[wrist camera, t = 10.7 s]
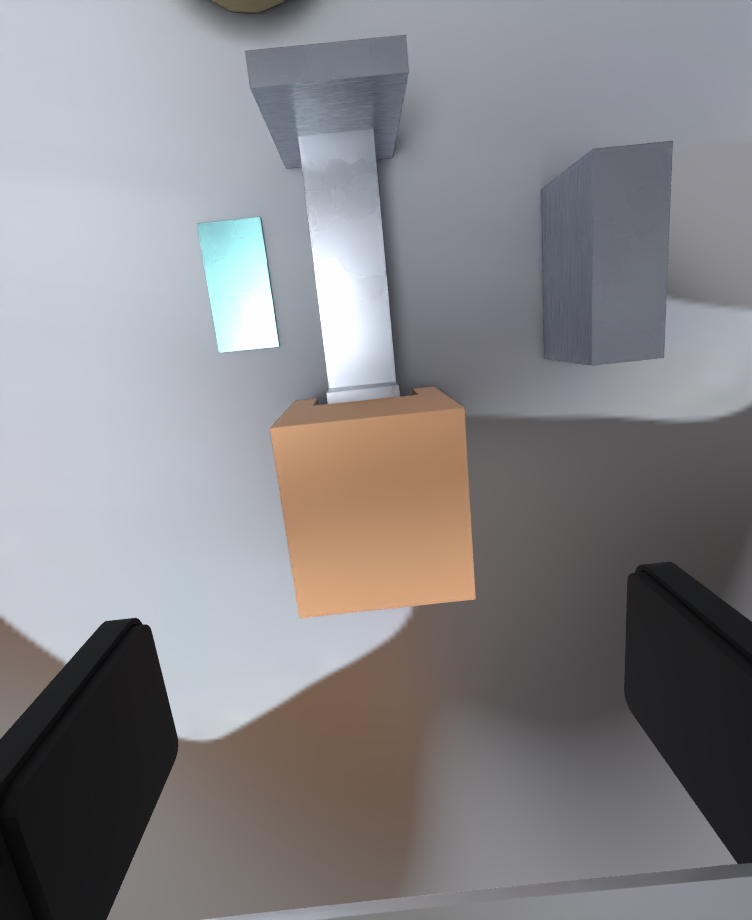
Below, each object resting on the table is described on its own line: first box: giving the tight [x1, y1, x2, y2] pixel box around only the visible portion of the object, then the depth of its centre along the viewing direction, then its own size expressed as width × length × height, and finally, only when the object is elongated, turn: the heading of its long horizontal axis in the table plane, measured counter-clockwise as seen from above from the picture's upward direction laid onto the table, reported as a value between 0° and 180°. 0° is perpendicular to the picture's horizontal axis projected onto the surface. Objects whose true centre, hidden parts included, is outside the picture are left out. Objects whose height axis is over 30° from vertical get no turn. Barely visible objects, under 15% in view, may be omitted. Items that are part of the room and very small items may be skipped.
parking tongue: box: [541, 141, 673, 365], centre depth 22 cm, size 3×8×6 cm, turn 6°
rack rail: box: [197, 35, 409, 404], centre depth 22 cm, size 10×20×8 cm, turn 6°
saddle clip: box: [270, 386, 475, 618], centre depth 21 cm, size 6×7×7 cm
